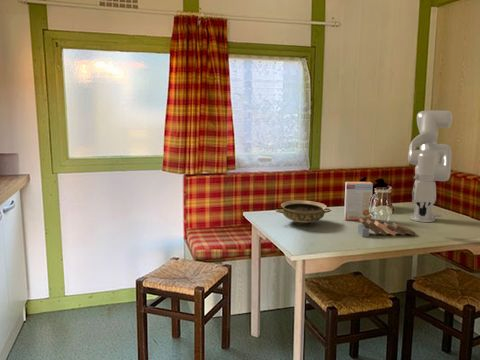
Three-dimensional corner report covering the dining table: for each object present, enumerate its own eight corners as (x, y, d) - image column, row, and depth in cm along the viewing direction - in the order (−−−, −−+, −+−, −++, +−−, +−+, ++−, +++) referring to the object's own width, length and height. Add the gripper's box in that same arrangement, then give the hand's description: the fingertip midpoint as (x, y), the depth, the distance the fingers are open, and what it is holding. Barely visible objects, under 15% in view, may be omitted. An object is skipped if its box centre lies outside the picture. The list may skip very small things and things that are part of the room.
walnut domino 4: (411, 230, 219) (393, 222, 219) (415, 233, 215) (397, 225, 214) (410, 233, 220) (392, 225, 219) (414, 236, 215) (395, 228, 214)
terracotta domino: (392, 230, 219) (375, 220, 219) (396, 233, 214) (378, 223, 214) (390, 233, 220) (373, 223, 219) (394, 236, 215) (376, 226, 214)
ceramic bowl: (279, 230, 223) (279, 211, 221) (271, 218, 247) (271, 200, 245) (337, 229, 226) (338, 209, 224) (324, 217, 250) (324, 199, 248)
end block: (364, 232, 221) (364, 224, 220) (368, 236, 213) (369, 228, 212) (357, 232, 221) (358, 224, 220) (362, 236, 213) (362, 228, 212)
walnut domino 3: (402, 230, 219) (384, 221, 219) (406, 233, 214) (387, 224, 214) (400, 233, 220) (382, 224, 219) (404, 236, 215) (386, 227, 214)
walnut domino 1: (376, 229, 219) (360, 217, 218) (379, 232, 214) (363, 220, 213) (374, 231, 219) (358, 220, 218) (377, 234, 214) (361, 223, 213)
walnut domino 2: (383, 230, 219) (367, 218, 218) (387, 233, 214) (370, 221, 213) (381, 232, 220) (365, 221, 219) (385, 235, 215) (368, 224, 214)
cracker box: (369, 218, 247) (371, 181, 243) (371, 221, 241) (373, 183, 237) (343, 217, 248) (345, 180, 245) (345, 220, 242) (346, 182, 239)
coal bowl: (396, 212, 262) (398, 180, 258) (365, 213, 258) (366, 181, 254) (379, 204, 281) (381, 175, 278) (349, 205, 277) (351, 176, 274)
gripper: (412, 179, 209) (409, 217, 212) (444, 179, 209) (441, 217, 212) (406, 176, 216) (404, 213, 220) (437, 176, 216) (434, 213, 220)
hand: (422, 215), depth 216 cm, fingers closed
